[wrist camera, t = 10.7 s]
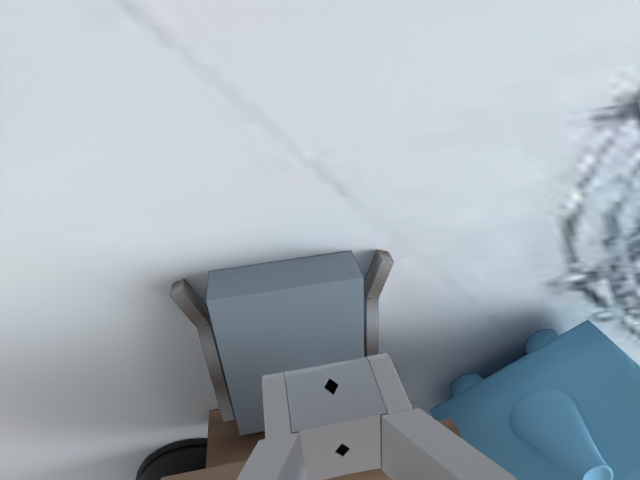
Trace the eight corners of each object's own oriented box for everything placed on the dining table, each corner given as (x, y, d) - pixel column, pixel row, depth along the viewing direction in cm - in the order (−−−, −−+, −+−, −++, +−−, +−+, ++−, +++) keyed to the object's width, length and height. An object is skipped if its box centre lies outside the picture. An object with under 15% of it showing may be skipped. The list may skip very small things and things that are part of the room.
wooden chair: (169, 280, 25) (67, 710, 10) (389, 247, 27) (592, 572, 12) (213, 423, 32) (192, 805, 17) (385, 390, 34) (510, 711, 19)
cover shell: (209, 271, 25) (206, 301, 23) (351, 250, 27) (363, 276, 24) (239, 400, 32) (240, 435, 29) (354, 379, 33) (364, 411, 30)
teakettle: (393, 454, 39) (469, 670, 26) (463, 292, 30) (625, 500, 18) (560, 445, 43) (692, 626, 31) (661, 303, 35) (903, 474, 22)
